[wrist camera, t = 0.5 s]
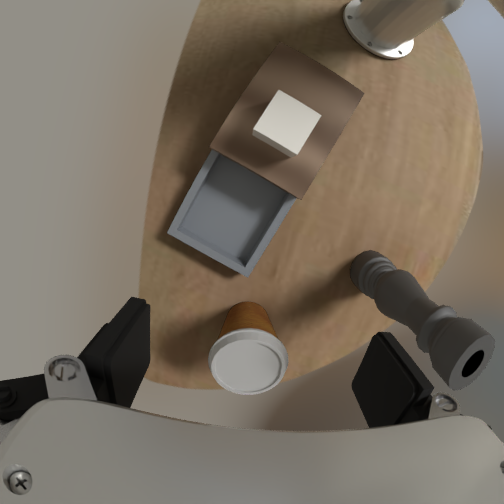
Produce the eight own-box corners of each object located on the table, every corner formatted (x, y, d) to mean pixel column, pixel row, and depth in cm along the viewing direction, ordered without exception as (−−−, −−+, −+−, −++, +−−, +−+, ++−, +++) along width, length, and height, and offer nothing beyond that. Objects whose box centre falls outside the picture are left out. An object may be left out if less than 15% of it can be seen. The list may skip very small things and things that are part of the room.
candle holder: (342, 280, 40) (433, 390, 16) (361, 243, 39) (478, 324, 15) (373, 293, 41) (466, 394, 17) (391, 259, 39) (504, 338, 15)
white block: (274, 100, 28) (278, 89, 24) (312, 122, 29) (321, 115, 25) (252, 135, 29) (253, 128, 25) (290, 157, 30) (297, 154, 26)
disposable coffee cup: (207, 300, 40) (195, 345, 29) (270, 284, 40) (280, 326, 28) (226, 350, 43) (222, 402, 31) (284, 337, 42) (296, 387, 31)
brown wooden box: (274, 59, 31) (279, 41, 26) (347, 103, 33) (364, 93, 27) (214, 151, 35) (209, 146, 29) (292, 196, 37) (301, 199, 31)
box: (214, 151, 35) (212, 149, 32) (292, 196, 37) (296, 197, 34) (172, 228, 37) (167, 232, 35) (247, 270, 39) (247, 277, 36)
